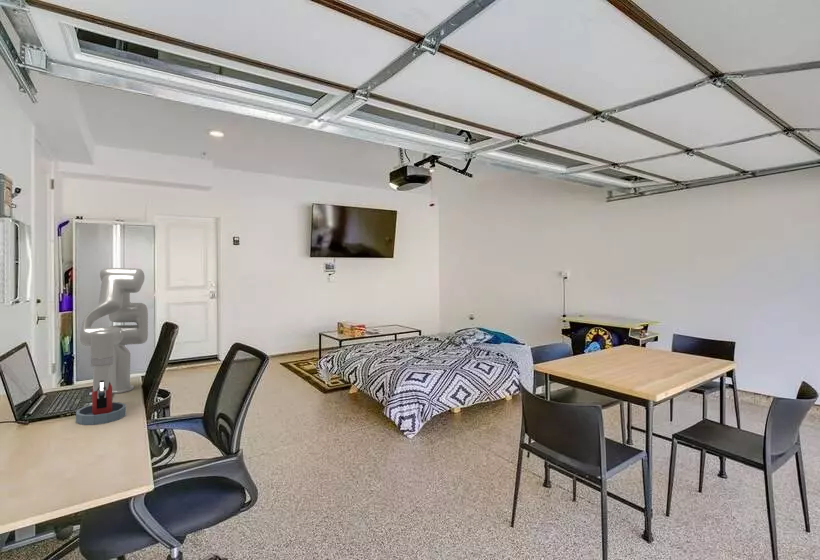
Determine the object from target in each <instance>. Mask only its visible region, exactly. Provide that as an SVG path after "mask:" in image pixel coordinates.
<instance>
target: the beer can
mask: <svg viewBox="0 0 820 560" xmlns="http://www.w3.org/2000/svg"><path fill="white" fill-rule="evenodd" d="M99 390H100V389H99ZM104 390H105V388H104ZM97 391H98V389H97ZM97 391H95V392H94V391H93V388H92V389H91V394H92V395H91V403H92V404H91V405H92V414H93V415H98V414H105V413H110V412H111V411H112V402H113V394H112V386H111V383H110V382H109V386H108V390H106V397H107V407H106V408H99V409H97V394H98V392H97ZM99 393H100V392H99Z"/></svg>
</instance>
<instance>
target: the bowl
mask: <svg viewBox="0 0 820 560" xmlns="http://www.w3.org/2000/svg"><path fill="white" fill-rule="evenodd" d="M126 405H127V404H126V403H122V402H120V401H119V402H116V401H115V402H114V401H112V411H111V412H110V413H105V414H98V415H93V414H92V404H90V405H86V406H83V407H81V408H79V409H76V412H75V423H76V424H80V425H82V426H83V425H84V426H95V425H101V424H103V425H104V424H107V423H111V422H115V421H119V420H120V419H123V418H124V417H126V416H127V413H126V409H127V408H126V407H127V406H126Z"/></svg>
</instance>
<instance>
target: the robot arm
mask: <svg viewBox="0 0 820 560" xmlns="http://www.w3.org/2000/svg"><path fill="white" fill-rule="evenodd" d="M99 278H100V281H101V284H100V291H99V298H98V304H97V305H96V306H94V308H91V310H90V311H89V312H88V313H87V314H86V315H85V316H84V318H83V320H82V323H81V327H80V328H81V330H80V334H79V340H80V343H81V344H82V345H83V346H87V347H90V367H91V368H93V371H92V372H93V373H92V375H93V376H92V389H93V391H94V392H95V391H97V389H98V391H97V392H98V394H97V409H99V408H106V407H107V397H106V390H108V386H109V382H110V383H111V386H112V395H113V394H122V393H126V392H130V391H132V390H134V388H135V385H133V384H131V352H130V350H129V349H128V347H126V346H127V345H128V346H129V345H144V344H145V343H146V342H147V340H148V337H149V324H148V323H149V311H148V307H147V305H146V304H145V303H142V302H131V300H130V299H131V294H132V293H133V294H134V293H135V294H136V293H138V292H140V291H141V289H142V287H143V284H144V282H145V273H144V271H143V270H142V269H141V268H131V267H130V268H129V267H127V268H126V267H107V268H103V269H101V270H100V271H99ZM105 316H108V319H109V321H110V322H112V323H118V324H116V325H111V326H101V327H100V326H99V327H98V326H97V327H96V326H95V327H93V326H92V325H93V324H94V322H96V321H97V320H98V319H100V318H103V317H105ZM119 323H135V324H119ZM104 388H105V390H104ZM99 389H100V390H99ZM99 392H100V393H99Z"/></svg>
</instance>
